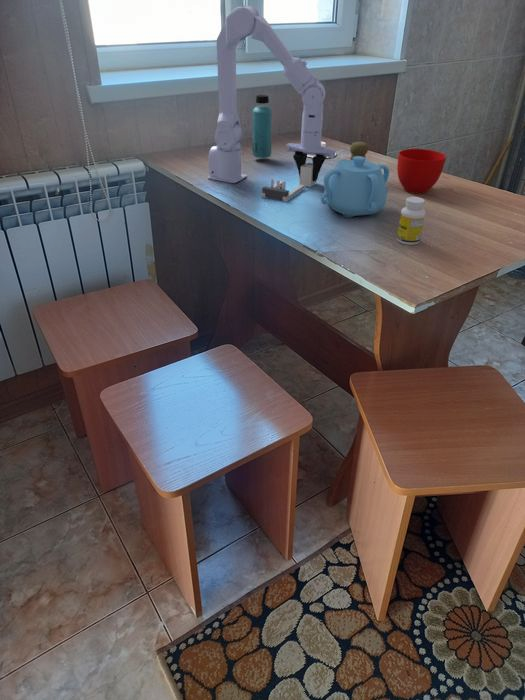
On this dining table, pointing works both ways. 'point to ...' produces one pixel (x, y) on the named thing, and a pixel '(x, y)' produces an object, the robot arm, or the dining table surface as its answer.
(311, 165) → the plug block
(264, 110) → the beverage bottle
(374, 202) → the decorative pot
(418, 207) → the supplement bottle
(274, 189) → the socket
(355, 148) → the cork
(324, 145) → the candle holder
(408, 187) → the ceramic cup
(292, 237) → the dining table surface
